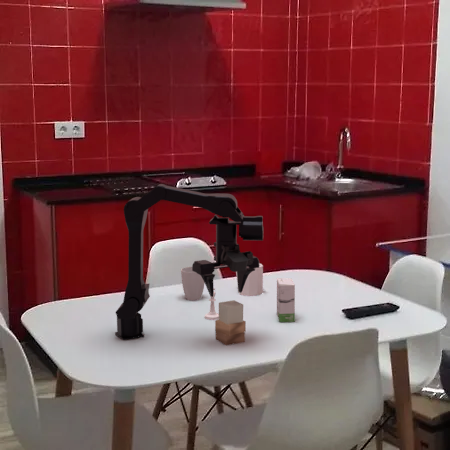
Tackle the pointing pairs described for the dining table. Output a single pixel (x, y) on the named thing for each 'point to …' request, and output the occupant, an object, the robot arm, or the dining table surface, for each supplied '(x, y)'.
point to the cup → (192, 284)
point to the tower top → (230, 327)
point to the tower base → (230, 338)
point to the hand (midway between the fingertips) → (226, 294)
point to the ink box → (285, 300)
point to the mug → (253, 283)
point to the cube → (231, 312)
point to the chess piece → (212, 310)
